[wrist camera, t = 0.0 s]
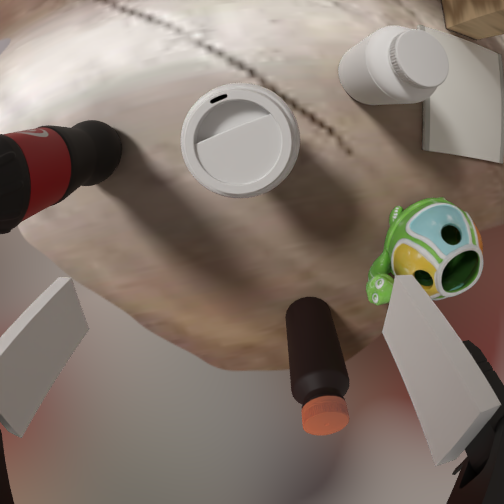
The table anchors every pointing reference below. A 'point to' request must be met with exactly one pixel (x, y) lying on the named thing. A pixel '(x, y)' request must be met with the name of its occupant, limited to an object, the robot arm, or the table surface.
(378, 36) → the pill bottle
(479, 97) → the shallow grey tray
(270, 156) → the coffee cup
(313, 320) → the vinegar
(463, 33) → the oak block
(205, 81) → the table surface
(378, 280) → the turtle holder
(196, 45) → the table surface
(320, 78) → the table surface
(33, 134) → the cola bottle
